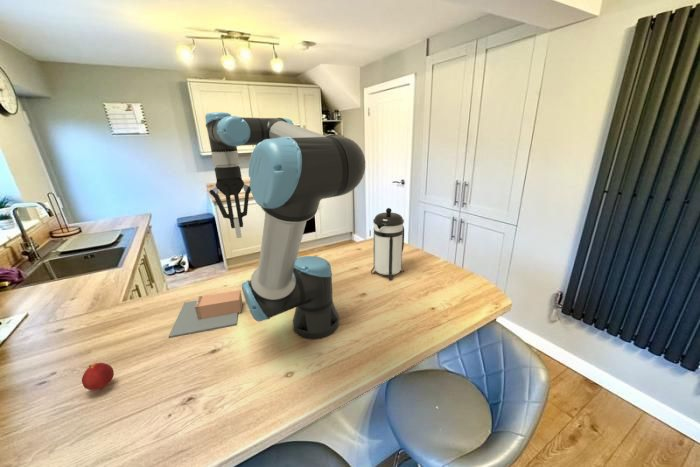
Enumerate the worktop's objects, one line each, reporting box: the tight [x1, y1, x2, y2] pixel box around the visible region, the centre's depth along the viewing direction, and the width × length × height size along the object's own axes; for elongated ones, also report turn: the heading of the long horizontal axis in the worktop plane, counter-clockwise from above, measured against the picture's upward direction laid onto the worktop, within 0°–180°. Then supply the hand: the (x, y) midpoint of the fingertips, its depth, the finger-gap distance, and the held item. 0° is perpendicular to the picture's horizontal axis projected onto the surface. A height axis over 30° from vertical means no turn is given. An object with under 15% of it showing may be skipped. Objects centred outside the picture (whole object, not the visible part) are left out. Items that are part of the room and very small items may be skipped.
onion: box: [81, 362, 115, 391], centre depth 69 cm, size 6×6×8 cm
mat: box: [168, 300, 239, 339], centre depth 100 cm, size 20×20×1 cm
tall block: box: [195, 289, 243, 320], centre depth 100 cm, size 7×5×14 cm
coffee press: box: [370, 207, 405, 281], centre depth 122 cm, size 17×16×30 cm
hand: (239, 236), depth 96 cm, fingers closed
